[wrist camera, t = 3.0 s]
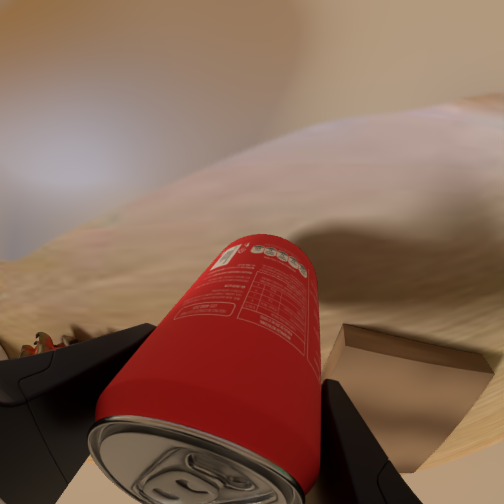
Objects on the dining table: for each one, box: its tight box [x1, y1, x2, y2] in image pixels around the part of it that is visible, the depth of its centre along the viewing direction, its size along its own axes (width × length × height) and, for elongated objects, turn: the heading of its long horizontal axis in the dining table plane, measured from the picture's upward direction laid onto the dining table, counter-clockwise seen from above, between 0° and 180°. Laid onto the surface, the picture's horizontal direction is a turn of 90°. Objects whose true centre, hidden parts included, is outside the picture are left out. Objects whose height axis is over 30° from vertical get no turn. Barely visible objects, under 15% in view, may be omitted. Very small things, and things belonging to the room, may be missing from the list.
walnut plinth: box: [321, 324, 494, 473], centre depth 19 cm, size 12×12×2 cm
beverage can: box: [87, 234, 321, 504], centre depth 10 cm, size 5×5×12 cm
